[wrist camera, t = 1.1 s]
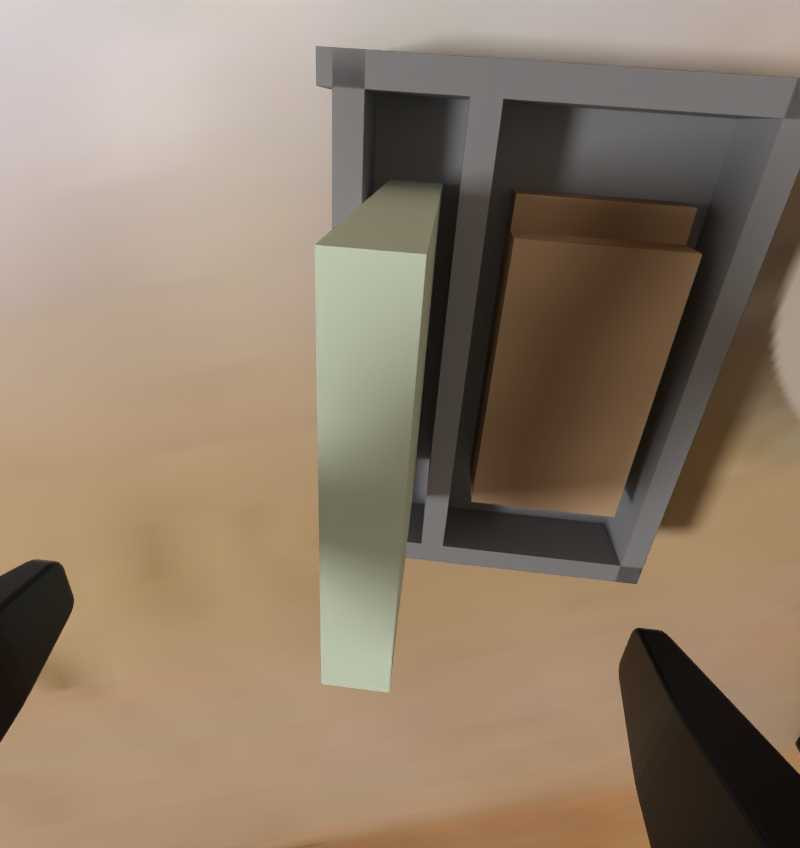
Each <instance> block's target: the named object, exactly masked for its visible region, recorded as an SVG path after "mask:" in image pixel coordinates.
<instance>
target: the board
mask: <svg viewBox="0 0 800 848" xmlns="http://www.w3.org/2000/svg"><path fill="white" fill-rule="evenodd" d="M442 188H443V183H431V182H419V181H406V180H393V179H390V180H389V181H388V182H387V183H386V184H384V185H383V186H382V187H381V188H380V189H379V190H378V191H376V192H375V193H374V194H373V195H372V196H371V197H369V198H368V199H367V200H366V201H365V202H364V203H363V204H361V205H360V206H359V207H358V208H357V209H356V210H354V211H353V212H352V213H351V214H350V215H349V216H347V217H346V218H345V219H344V220H343V221H342V222H341V223H339V224H338V225H337V226H336V227H335V228H334V229H332V230H331V231H330V232H329V233H328V234H327V235H326V236H324V237H323V238H322V239H321V240H320V241H319V242H317V243H316V244H315V296H316V360H317V425H318V489H319V553H320V618H321V682H322V684H325V685H333V686H341V687H349V688H357V689H365V690H373V691H381V692H389V689H390V681H391V673H392V664H393V656H394V647H395V639H396V631H397V622H398V614H399V605H400V597H401V589H402V580H403V572H404V563H405V555H406V547H407V538H408V530H409V521H410V513H411V505H412V496H413V488H414V479H415V471H416V463H417V453H418V442H419V432H420V421H421V410H422V400H423V389H424V379H425V368H426V357H427V347H428V336H429V326H430V315H431V304H432V294H433V283H434V272H435V262H436V251H437V241H438V230H439V219H440V209H441V198H442Z"/></svg>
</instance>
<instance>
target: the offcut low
mask: <svg viewBox="0 0 800 848" xmlns="http://www.w3.org/2000/svg"><path fill="white" fill-rule="evenodd" d="M696 212H697V207H694V206H691V205H688V204H686V203H683V202H674V201H661V200H648V199H635V198H623V197H610V196H597V195H584V194H572V193H559V192H546V191H533V190H521V189H512V195H511V202H510V208H509V215H508V221H507V228H506V234H505V241H504V247H503V254H502V260H501V267H500V273H499V280H498V286H497V293H496V299H495V306H494V312H493V319H492V325H491V332H490V338H489V345H488V351H487V358H486V364H485V371H484V377H483V384H482V390H481V397H480V403H479V410H478V416H477V423H476V429H475V436H474V442H473V449H472V455H471V461H470V476H471V477H472V471H473V465H474V458H475V452H476V446H477V439H478V433H479V427H480V420H481V414H482V408H483V401H484V395H485V389H486V382H487V376H488V370H489V363H490V357H491V351H492V344H493V338H494V332H495V325H496V319H497V313H498V306H499V300H500V294H501V287H502V281H503V275H504V268H505V262H506V256H507V249H508V243H509V237H510V231H521V232H533V233H545V234H557V235H570V236H582V237H594V238H606V239H618V240H630V241H642V242H655V243H667V244H679V245H686V243H687V240H688V237H689V234H690V231H691V227H692V224H693V221H694V218H695V215H696Z"/></svg>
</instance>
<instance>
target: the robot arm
mask: <svg viewBox="0 0 800 848" xmlns="http://www.w3.org/2000/svg"><path fill="white" fill-rule="evenodd" d="M73 604H74V597H73V593H72V591H71V588H70V585H69V582H68V579H67V576H66V573H65V570H64V568H63V566H62V565H61V564H60V563H59V562H56V561H48V560H38V559H36V560H31V561H28V562H26V563H24V564H22V565H20V566H18V567H16V568H14V569H12V570H11V571H9V572H7V573H5V574H3V575H1V576H0V742H1V740H2V739H3V737H4V736H5V734H6V733H7V731H8V729H9V728H10V726H11V725H12V723H13V722H14V720H15V718H16V717H17V715H18V713H19V712H20V710H21V708H22V707H23V705H24V703H25V701H26V699H27V698H28V696H29V694H30V692H31V690H32V688H33V686H34V684H35V683H36V681H37V679H38V677H39V675H40V673H41V671H42V669H43V667H44V665H45V663H46V661H47V659H48V657H49V655H50V653H51V651H52V649H53V647H54V645H55V643H56V641H57V640H58V638H59V636H60V634H61V632H62V630H63V628H64V626H65V624H66V622H67V620H68V618H69V616H70V614H71V612H72V609H73ZM619 681H620V688H621V694H622V701H623V708H624V714H625V721H626V728H627V734H628V741H629V748H630V755H631V761H632V768H633V774H634V779H635V785H636V789H637V794H638V798H639V802H640V807H641V810H642V814H643V818H644V822H645V826H646V830H647V834H648V838H649V842H650V846H651V848H800V774H799V773H798V772H797V771H796V770H795V769H794V768H793V767H792V766H791V765H790V764H789V763H788V762H787V761H786V759H785V758H784V757H783V756H782V755H781V754H780V753H779V752H778V751H777V750H776V749H775V748H774V747H773V746H772V745H771V744H770V743H769V741H768V740H767V739H766V738H765V737H764V736H763V735H762V734H761V733H760V732H759V731H758V730H757V729H756V728H755V727H754V726H753V725H752V723H751V722H750V721H749V720H748V719H747V718H746V717H745V716H744V715H743V714H742V713H741V712H740V711H739V710H738V709H737V708H736V707H735V705H734V704H733V703H732V702H731V701H730V700H729V699H728V698H727V697H726V696H725V695H724V694H723V693H722V692H721V691H720V690H719V689H718V687H717V686H716V685H715V684H714V683H713V682H712V681H711V680H710V679H709V678H708V677H707V676H706V675H705V674H704V673H703V672H702V671H701V669H700V668H699V667H698V666H697V665H696V664H695V663H694V662H693V661H692V660H691V659H690V658H689V657H688V656H687V655H686V654H685V653H684V651H683V650H682V649H681V648H680V647H679V646H678V645H677V644H676V643H675V642H674V641H673V640H672V639H671V638H670V637H669V636H668V635H667V634H666V633H664V632H663V631H660V630H654V629H645V628H636V629H635V630H634V631H633V632H632V633H631V636H630V638H629V641H628V643H627V645H626V648H625V650H624V653H623V655H622V658H621V660H620V664H619ZM796 746H797V748H798V750H799V752H800V737H799V739H798V740H797V741H796Z"/></svg>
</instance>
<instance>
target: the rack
mask: <svg viewBox="0 0 800 848" xmlns="http://www.w3.org/2000/svg"><path fill="white" fill-rule="evenodd" d="M316 86H320V87H324V88H328V89H332V229H334V228H335V227H336V226H337V225H338V224H339V223H341V222H342V221H343V220H344V219H345V218H346V217H347V216H349V215H350V214H351V213H352V212H353V211H354V210H356V209H357V208H358V207H359V206H360V205H361V204H363V203H364V202H365V201H366V200H367V199H368V198H369V197H371V196H372V195H373V194H374V193H375V192H376V191H378V190H379V189H380V188H381V187H382V186H383V185H384V184H386V183H387V182H388V181H389V180H390V179H393V180H406V181H419V182H431V183H443V188H442V198H441V209H440V219H439V230H438V241H437V251H436V262H435V272H434V283H433V294H432V304H431V315H430V326H429V336H428V347H427V357H426V368H425V379H424V389H423V400H422V410H421V421H420V432H419V442H418V453H417V463H416V471H415V479H414V488H413V496H412V505H411V513H410V521H409V530H408V538H407V547H406V555H405V558H411V559H420V560H429V561H438V562H447V563H455V564H464V565H473V566H482V567H491V568H500V569H508V570H517V571H526V572H535V573H544V574H553V575H561V576H570V577H579V578H588V579H597V580H606V581H614V582H623V583H632V584H637V582H638V579H639V577H640V574H641V572H642V569H643V567H644V564H645V561H646V559H647V556H648V554H649V551H650V549H651V546H652V544H653V541H654V539H655V536H656V533H657V531H658V528H659V526H660V523H661V521H662V518H663V516H664V513H665V510H666V508H667V505H668V503H669V500H670V498H671V495H672V493H673V490H674V488H675V485H676V482H677V480H678V477H679V475H680V472H681V470H682V467H683V465H684V462H685V460H686V457H687V454H688V452H689V449H690V447H691V444H692V442H693V439H694V437H695V434H696V432H697V429H698V426H699V424H700V421H701V419H702V416H703V414H704V411H705V409H706V406H707V404H708V401H709V398H710V396H711V393H712V391H713V388H714V386H715V383H716V381H717V378H718V375H719V373H720V370H721V368H722V365H723V363H724V360H725V358H726V355H727V353H728V350H729V347H730V345H731V342H732V340H733V337H734V335H735V332H736V330H737V327H738V325H739V322H740V319H741V317H742V314H743V312H744V309H745V307H746V304H747V302H748V299H749V297H750V294H751V291H752V289H753V286H754V284H755V281H756V279H757V276H758V274H759V271H760V269H761V266H762V263H763V261H764V258H765V256H766V253H767V251H768V248H769V246H770V243H771V240H772V238H773V235H774V233H775V230H776V228H777V225H778V223H779V220H780V218H781V215H782V212H783V210H784V207H785V205H786V202H787V200H788V197H789V195H790V192H791V190H792V187H793V184H794V182H795V179H796V177H797V174H798V172H799V169H800V78H787V77H772V76H757V75H742V74H727V73H712V72H697V71H682V70H667V69H652V68H637V67H622V66H607V65H592V64H577V63H562V62H547V61H532V60H517V59H502V58H486V57H471V56H456V55H441V54H426V53H411V52H396V51H381V50H366V49H351V48H336V47H321V46H316ZM512 189H521V190H533V191H546V192H559V193H572V194H584V195H597V196H610V197H623V198H635V199H648V200H661V201H674V202H683V203H686V204H688V205H691V206H694V207H697V212H696V215H695V218H694V221H693V224H692V227H691V231H690V234H689V237H688V240H687V243H686V245H687V246H689V247H690V248H692V249H694V250H696V251H698V252H700V253H701V254H702V257H701V260H700V263H699V266H698V269H697V272H696V275H695V278H694V281H693V284H692V287H691V290H690V293H689V296H688V299H687V302H686V305H685V308H684V311H683V314H682V317H681V320H680V323H679V326H678V329H677V332H676V335H675V338H674V341H673V344H672V347H671V350H670V353H669V356H668V359H667V362H666V365H665V368H664V371H663V374H662V377H661V380H660V382H659V385H658V388H657V391H656V394H655V397H654V400H653V403H652V406H651V409H650V412H649V415H648V418H647V421H646V424H645V427H644V430H643V433H642V436H641V439H640V442H639V445H638V448H637V451H636V454H635V457H634V460H633V463H632V466H631V469H630V472H629V475H628V478H627V481H626V484H625V487H624V490H623V493H622V496H621V499H620V502H619V505H618V508H617V511H616V514H615V517H608V516H599V515H589V514H580V513H571V512H561V511H552V510H543V509H533V508H524V507H515V506H505V505H496V504H487V503H478V502H471V476H470V461H471V455H472V449H473V442H474V436H475V429H476V423H477V416H478V410H479V403H480V397H481V390H482V384H483V377H484V371H485V364H486V358H487V351H488V345H489V338H490V332H491V325H492V319H493V312H494V306H495V299H496V293H497V286H498V280H499V273H500V267H501V260H502V254H503V247H504V241H505V234H506V228H507V221H508V215H509V208H510V202H511V195H512Z"/></svg>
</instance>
